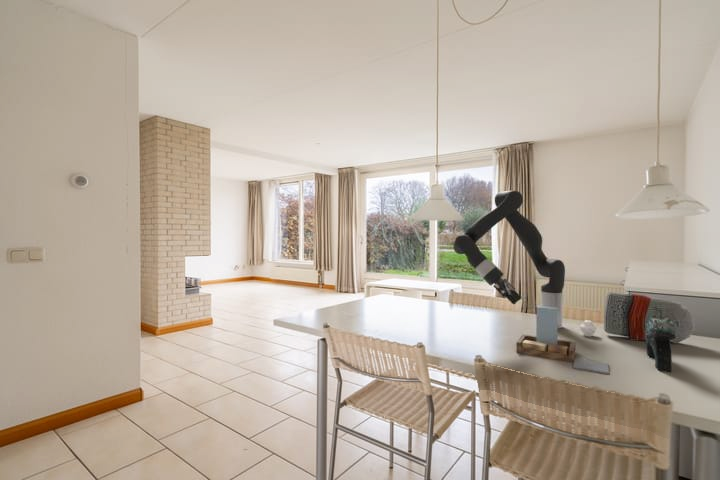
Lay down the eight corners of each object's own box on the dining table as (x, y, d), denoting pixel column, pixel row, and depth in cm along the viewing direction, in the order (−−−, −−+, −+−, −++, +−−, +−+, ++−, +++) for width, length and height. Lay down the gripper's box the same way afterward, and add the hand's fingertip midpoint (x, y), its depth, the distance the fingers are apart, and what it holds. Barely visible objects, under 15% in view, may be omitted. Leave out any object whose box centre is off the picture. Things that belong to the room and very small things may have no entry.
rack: (516, 352, 137) (516, 342, 137) (522, 343, 148) (522, 334, 148) (573, 362, 127) (573, 351, 127) (575, 352, 137) (575, 341, 137)
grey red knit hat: (608, 292, 155) (699, 304, 141) (606, 290, 161) (693, 301, 147) (603, 335, 156) (692, 351, 142) (601, 331, 162) (687, 346, 148)
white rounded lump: (599, 337, 156) (599, 321, 156) (585, 337, 156) (585, 321, 156) (590, 333, 162) (590, 318, 162) (577, 333, 162) (577, 318, 162)
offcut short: (548, 357, 133) (548, 346, 132) (549, 354, 136) (549, 343, 136) (566, 360, 129) (566, 349, 129) (567, 357, 132) (567, 346, 132)
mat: (574, 359, 129) (574, 357, 129) (608, 364, 124) (608, 363, 124) (573, 368, 121) (573, 366, 121) (608, 374, 116) (608, 372, 116)
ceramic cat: (676, 375, 115) (677, 313, 115) (651, 371, 118) (652, 311, 118) (661, 356, 132) (661, 302, 132) (639, 353, 135) (640, 301, 135)
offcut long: (522, 352, 138) (522, 342, 138) (525, 349, 141) (525, 339, 141) (544, 356, 133) (544, 346, 133) (547, 354, 136) (547, 343, 136)
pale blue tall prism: (536, 349, 140) (536, 307, 140) (537, 347, 143) (537, 305, 143) (556, 353, 136) (556, 309, 136) (557, 350, 139) (557, 307, 139)
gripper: (491, 267, 144) (521, 298, 138) (499, 264, 156) (528, 292, 149) (478, 279, 147) (507, 310, 141) (487, 275, 159) (514, 304, 153)
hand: (517, 301), depth 145 cm, fingers open, 8 cm apart
